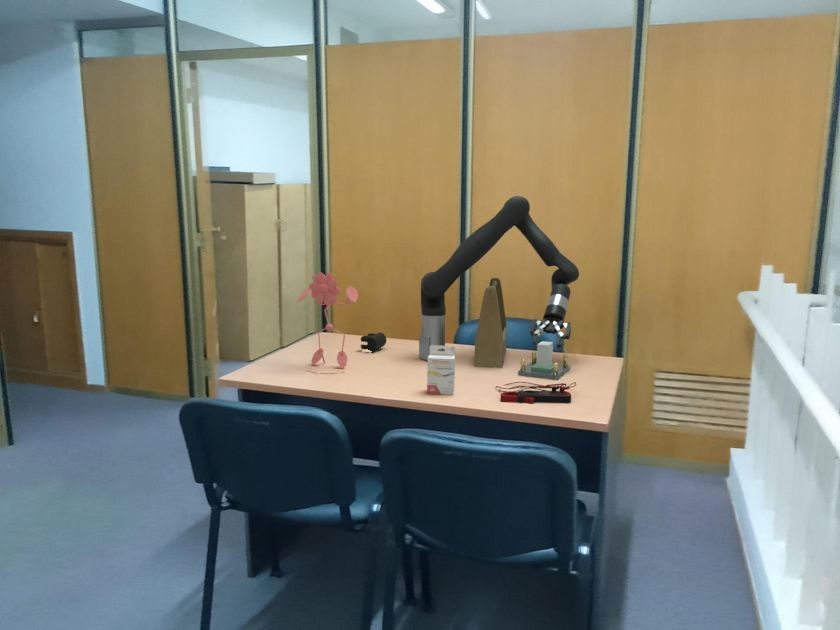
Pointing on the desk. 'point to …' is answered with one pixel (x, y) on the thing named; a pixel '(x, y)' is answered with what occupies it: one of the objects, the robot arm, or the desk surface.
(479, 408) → the desk surface
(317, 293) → the figurine
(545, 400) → the digital clamp meter
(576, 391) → the desk surface
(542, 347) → the board module
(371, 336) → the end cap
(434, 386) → the ink cartridge box
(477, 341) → the caddy
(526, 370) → the standoff chassis
